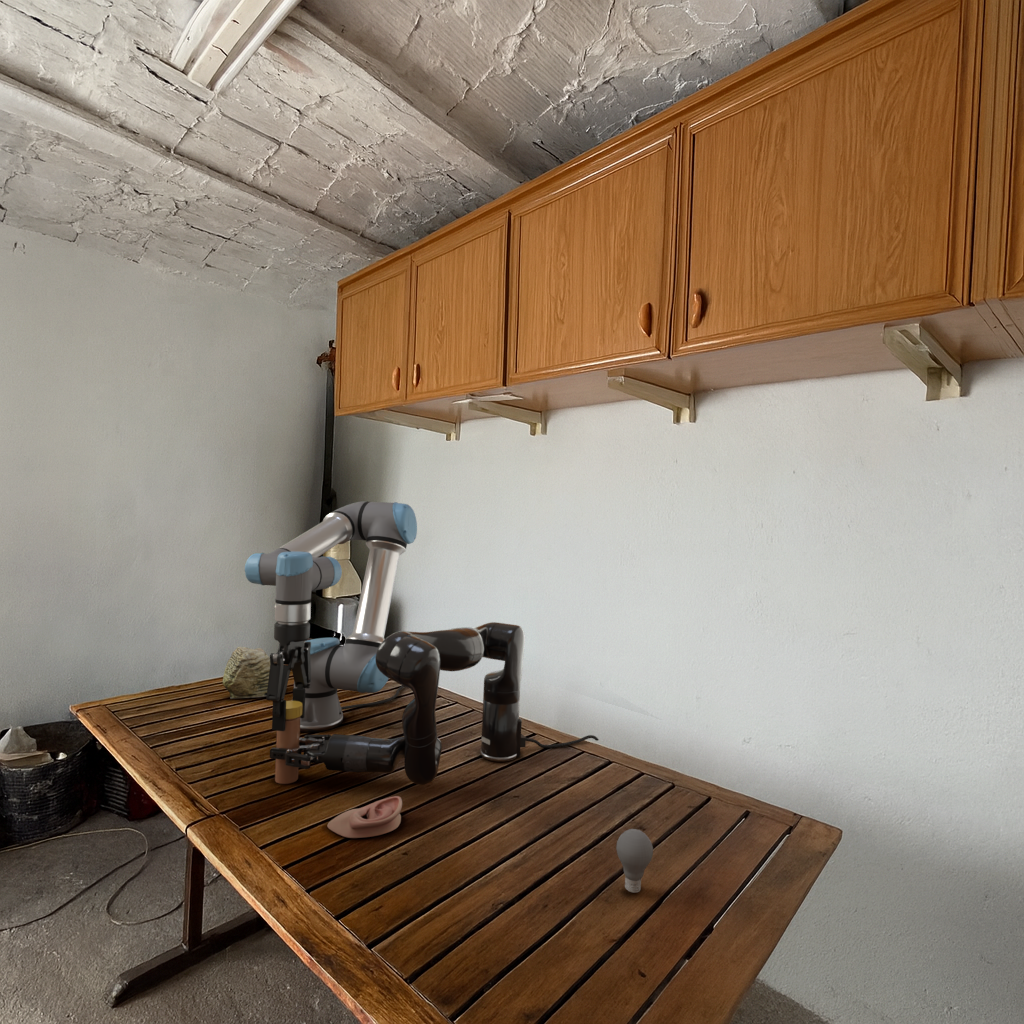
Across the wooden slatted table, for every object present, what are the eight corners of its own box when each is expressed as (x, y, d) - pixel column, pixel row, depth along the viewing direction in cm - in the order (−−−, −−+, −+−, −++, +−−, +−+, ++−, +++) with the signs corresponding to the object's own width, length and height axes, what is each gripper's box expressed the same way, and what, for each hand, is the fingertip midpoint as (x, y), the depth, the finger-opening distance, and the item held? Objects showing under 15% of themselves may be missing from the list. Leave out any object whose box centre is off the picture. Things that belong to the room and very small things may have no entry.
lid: (270, 718, 139) (270, 707, 138) (282, 709, 144) (283, 699, 144) (295, 720, 138) (295, 709, 138) (306, 711, 144) (306, 701, 144)
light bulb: (610, 879, 108) (613, 822, 108) (644, 879, 109) (647, 822, 109) (619, 902, 102) (622, 840, 102) (655, 901, 103) (658, 840, 103)
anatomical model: (320, 812, 119) (347, 786, 130) (319, 833, 119) (347, 805, 130) (386, 822, 116) (408, 795, 127) (385, 844, 116) (408, 814, 128)
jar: (296, 783, 139) (299, 711, 139) (272, 784, 138) (275, 711, 138) (299, 773, 144) (302, 704, 144) (277, 774, 143) (279, 704, 143)
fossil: (218, 695, 195) (220, 647, 195) (278, 685, 208) (279, 640, 207) (228, 703, 189) (230, 653, 188) (289, 692, 201) (290, 645, 201)
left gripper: (300, 612, 151) (296, 707, 152) (250, 629, 131) (246, 738, 132) (329, 614, 150) (325, 710, 151) (283, 632, 130) (279, 742, 130)
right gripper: (361, 725, 147) (289, 720, 148) (340, 749, 133) (261, 743, 134) (359, 757, 147) (288, 752, 149) (339, 784, 133) (260, 778, 134)
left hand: (288, 723), depth 141 cm, fingers open, 8 cm apart
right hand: (276, 748), depth 141 cm, fingers closed on jar, 5 cm apart
